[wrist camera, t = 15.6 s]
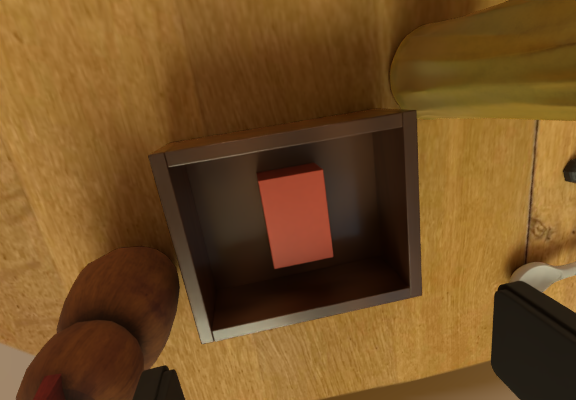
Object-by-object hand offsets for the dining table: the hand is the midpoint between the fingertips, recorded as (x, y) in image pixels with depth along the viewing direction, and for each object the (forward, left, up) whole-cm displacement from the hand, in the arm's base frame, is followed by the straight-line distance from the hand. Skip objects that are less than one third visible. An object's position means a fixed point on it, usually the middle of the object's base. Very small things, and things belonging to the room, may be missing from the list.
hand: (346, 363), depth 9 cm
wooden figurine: (-11, -3, -15) cm, 19 cm away
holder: (+1, 0, -15) cm, 15 cm away
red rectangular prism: (+1, 0, -14) cm, 14 cm away
